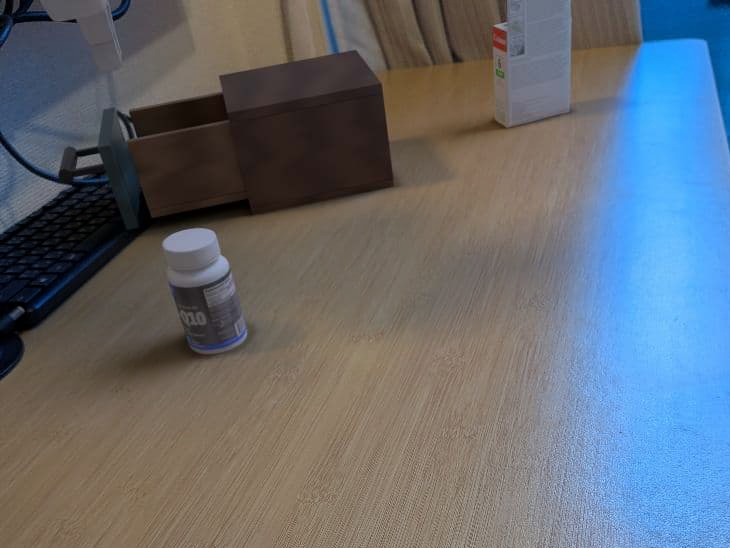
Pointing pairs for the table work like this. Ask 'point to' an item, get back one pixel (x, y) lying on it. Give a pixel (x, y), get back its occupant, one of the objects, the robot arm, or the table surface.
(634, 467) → the table surface
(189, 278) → the pill bottle
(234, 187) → the drawer
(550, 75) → the ink box
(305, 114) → the cabinet
